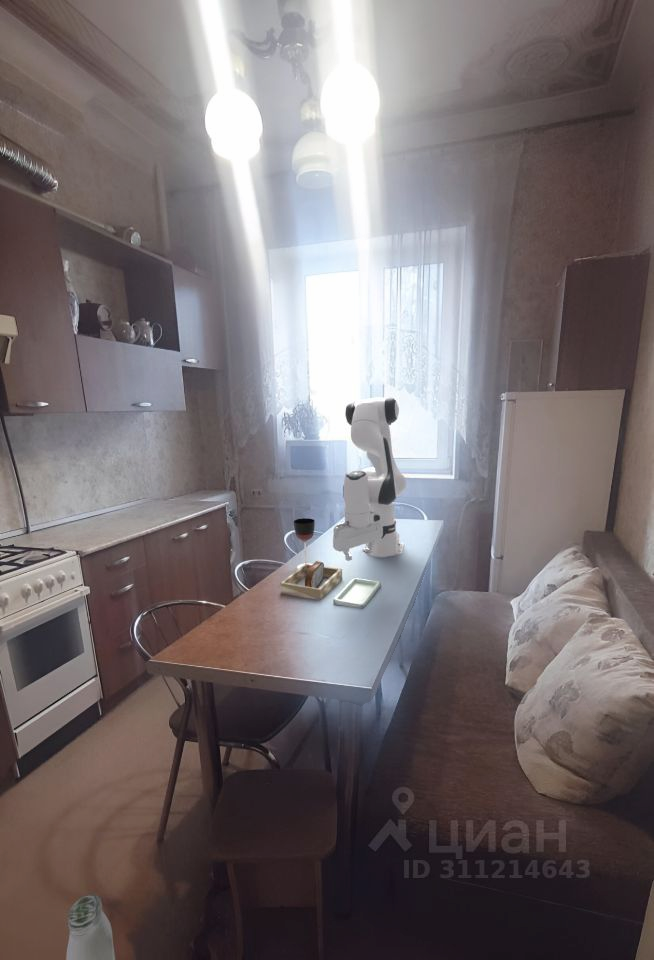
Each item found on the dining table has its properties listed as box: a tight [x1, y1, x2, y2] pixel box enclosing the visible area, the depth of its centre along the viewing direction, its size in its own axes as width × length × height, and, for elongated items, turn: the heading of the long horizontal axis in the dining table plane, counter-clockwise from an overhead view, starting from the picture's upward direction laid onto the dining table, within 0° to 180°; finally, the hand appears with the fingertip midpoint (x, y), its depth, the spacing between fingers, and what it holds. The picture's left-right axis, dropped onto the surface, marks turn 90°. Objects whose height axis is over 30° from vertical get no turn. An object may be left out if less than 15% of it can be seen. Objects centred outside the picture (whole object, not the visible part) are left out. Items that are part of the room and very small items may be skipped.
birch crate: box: [279, 563, 343, 601], centre depth 164 cm, size 20×16×4 cm
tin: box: [304, 560, 325, 588], centre depth 164 cm, size 15×3×8 cm, turn 161°
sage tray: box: [332, 577, 382, 609], centre depth 155 cm, size 20×11×2 cm, turn 156°
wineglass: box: [293, 517, 316, 570], centre depth 182 cm, size 8×9×20 cm
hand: (359, 556), depth 152 cm, fingers open, 8 cm apart
